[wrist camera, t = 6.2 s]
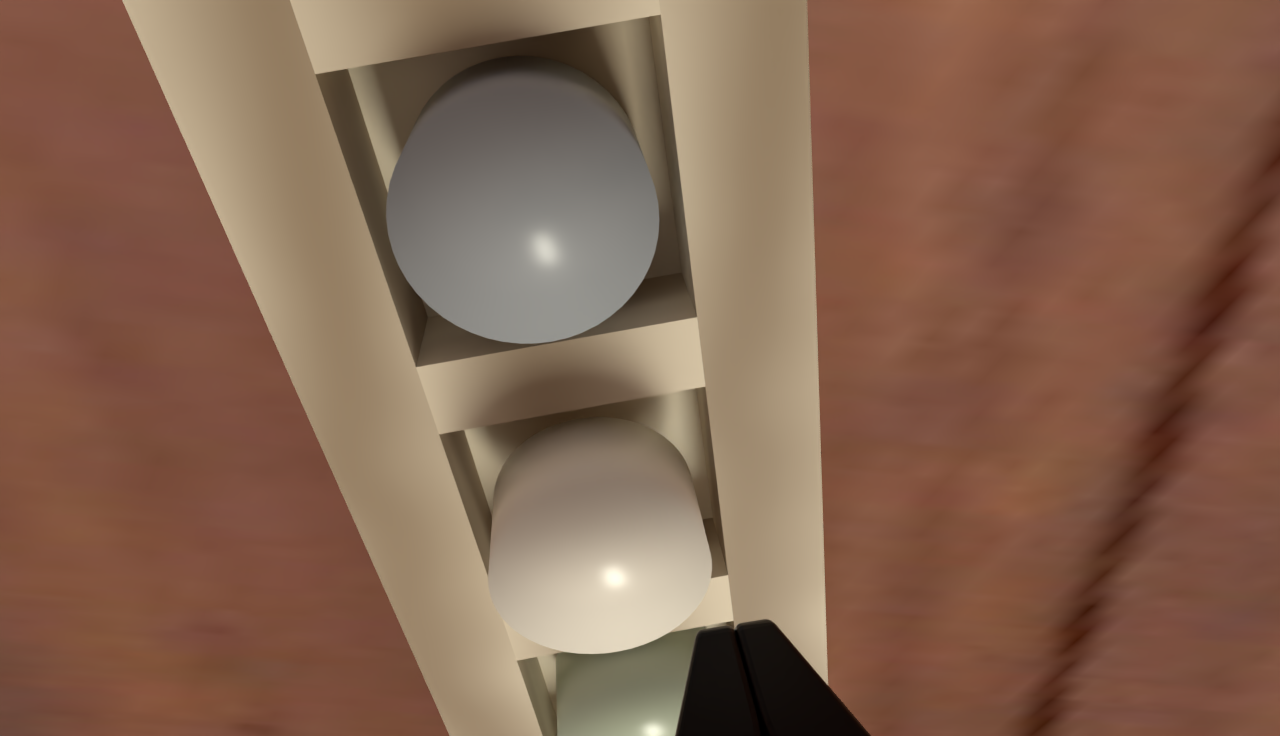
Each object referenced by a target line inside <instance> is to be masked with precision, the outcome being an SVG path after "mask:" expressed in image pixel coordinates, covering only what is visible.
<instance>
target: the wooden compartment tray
mask: <svg viewBox="0 0 1280 736" xmlns="http://www.w3.org/2000/svg"><path fill="white" fill-rule="evenodd" d="M122 1H123V3H124V5H125V7H126V10H127V12H128V14H129V16H130V19H131V21H132V23H133V25H134V27H135V30H136V32H137V34H138V36H139V39H140V41H141V43H142V45H143V48H144V50H145V52H146V54H147V57H148V59H149V61H150V63H151V66H152V68H153V70H154V72H155V75H156V77H157V79H158V81H159V84H160V86H161V88H162V90H163V93H164V95H165V97H166V99H167V102H168V104H169V106H170V108H171V111H172V113H173V115H174V117H175V120H176V122H177V124H178V126H179V129H180V131H181V133H182V135H183V138H184V140H185V142H186V144H187V147H188V149H189V151H190V153H191V156H192V158H193V160H194V162H195V165H196V167H197V169H198V171H199V173H200V176H201V178H202V180H203V182H204V185H205V187H206V189H207V191H208V194H209V196H210V198H211V200H212V203H213V205H214V207H215V209H216V212H217V214H218V216H219V218H220V221H221V223H222V225H223V227H224V230H225V232H226V234H227V236H228V239H229V241H230V243H231V245H232V248H233V250H234V252H235V254H236V257H237V259H238V261H239V263H240V266H241V268H242V270H243V272H244V275H245V277H246V279H247V281H248V284H249V286H250V288H251V290H252V293H253V295H254V297H255V299H256V302H257V304H258V306H259V308H260V311H261V313H262V315H263V317H264V320H265V322H266V324H267V326H268V328H269V331H270V333H271V335H272V337H273V340H274V342H275V344H276V346H277V349H278V351H279V353H280V355H281V358H282V360H283V362H284V364H285V367H286V369H287V371H288V373H289V376H290V378H291V380H292V382H293V385H294V387H295V389H296V391H297V394H298V396H299V398H300V400H301V403H302V405H303V407H304V409H305V412H306V414H307V416H308V418H309V421H310V423H311V425H312V427H313V430H314V432H315V434H316V436H317V439H318V441H319V443H320V445H321V448H322V450H323V452H324V454H325V457H326V459H327V461H328V463H329V466H330V468H331V470H332V472H333V475H334V477H335V479H336V481H337V483H338V486H339V488H340V490H341V492H342V495H343V497H344V499H345V501H346V504H347V506H348V508H349V510H350V513H351V515H352V517H353V519H354V522H355V524H356V526H357V528H358V531H359V533H360V535H361V537H362V540H363V542H364V544H365V546H366V549H367V551H368V553H369V555H370V558H371V560H372V562H373V564H374V567H375V569H376V571H377V573H378V576H379V578H380V580H381V582H382V585H383V587H384V589H385V591H386V594H387V596H388V598H389V600H390V603H391V605H392V607H393V609H394V612H395V614H396V616H397V618H398V621H399V623H400V625H401V627H402V629H403V632H404V634H405V636H406V638H407V641H408V643H409V645H410V647H411V650H412V652H413V654H414V656H415V659H416V661H417V663H418V665H419V668H420V670H421V672H422V674H423V677H424V679H425V681H426V683H427V686H428V688H429V690H430V692H431V695H432V697H433V699H434V701H435V704H436V706H437V708H438V710H439V713H440V715H441V717H442V719H443V722H444V724H445V726H446V728H447V731H448V733H449V735H450V736H557V697H556V656H557V653H561V652H564V651H559V650H555V649H551V648H548V647H545V646H542V645H539V644H537V643H535V642H533V641H531V640H529V639H527V638H525V637H524V636H522V635H520V634H519V633H518V632H516V631H515V630H514V629H513V628H511V627H510V626H509V625H508V624H507V623H506V622H505V621H504V620H503V618H502V617H501V616H500V614H499V613H498V611H497V610H496V608H495V606H494V604H493V602H492V599H491V596H490V592H489V585H488V572H489V557H490V543H491V528H492V513H493V499H494V489H495V484H496V481H497V477H498V475H499V473H500V471H501V468H502V466H503V465H504V463H505V462H506V460H507V459H508V458H509V456H510V455H511V454H512V453H513V452H514V451H515V450H516V449H517V447H519V446H520V445H521V444H522V443H523V442H525V441H526V440H527V439H529V438H530V437H532V436H533V435H535V434H536V433H538V432H540V431H542V430H544V429H546V428H548V427H550V426H553V425H556V424H559V423H562V422H565V421H570V420H574V419H580V418H588V417H610V418H619V419H624V420H629V421H633V422H636V423H639V424H642V425H644V426H646V427H648V428H651V429H653V430H655V431H656V432H658V433H659V434H661V435H662V436H664V437H665V438H666V439H668V440H669V441H670V442H671V443H672V444H673V445H674V446H675V447H676V448H677V449H678V450H679V452H680V453H681V454H682V456H683V458H684V459H685V461H686V463H687V465H688V468H689V470H690V473H691V477H692V481H693V485H694V489H695V493H696V497H697V501H698V505H699V509H700V513H701V517H702V521H703V525H704V529H705V533H706V537H707V541H708V545H709V549H710V554H711V558H712V573H711V580H710V583H709V586H708V590H707V592H706V594H705V596H704V598H703V600H702V601H701V603H700V604H699V605H698V607H697V608H696V610H695V611H694V612H693V613H692V614H691V615H690V616H689V617H688V618H687V619H686V620H685V621H684V622H683V623H681V624H680V625H679V626H678V627H676V628H675V629H673V630H672V631H670V632H675V631H681V630H686V629H691V628H697V627H702V626H704V627H705V629H707V628H713V627H719V626H725V625H728V626H731V627H732V628H733V629H734V630H735V627H736V626H737V625H738V624H739V623H743V622H750V621H756V620H762V619H769V620H771V621H773V622H774V623H775V624H776V625H777V626H778V627H779V629H780V630H781V631H782V632H783V633H784V634H785V636H786V637H787V638H788V639H789V640H790V641H791V643H792V644H793V645H794V646H795V647H796V648H797V650H798V651H799V652H800V653H801V654H802V656H803V657H804V658H805V659H806V660H807V661H808V663H809V664H810V665H811V666H812V667H813V668H814V670H815V671H816V672H817V673H818V674H819V675H820V677H821V678H822V679H823V680H824V681H825V683H826V684H827V685H828V671H827V638H826V605H825V573H824V540H823V507H822V475H821V442H820V409H819V377H818V344H817V311H816V278H815V246H814V213H813V180H812V148H811V115H810V82H809V50H808V17H807V0H122ZM508 56H535V57H541V58H547V59H551V60H554V61H558V62H561V63H564V64H567V65H569V66H571V67H573V68H575V69H577V70H580V71H581V72H583V73H585V74H586V75H588V76H589V77H591V78H592V79H594V80H595V81H596V82H598V83H599V84H600V85H601V86H602V87H604V88H605V89H606V90H607V91H608V92H609V93H610V94H611V95H612V96H613V98H614V99H615V100H616V101H617V102H618V103H619V105H620V106H621V108H622V109H623V110H624V112H625V113H626V115H627V116H628V118H629V120H630V122H631V124H632V126H633V128H634V130H635V133H636V136H637V139H638V141H639V144H640V147H641V150H642V153H643V155H644V158H645V161H646V164H647V166H648V169H649V172H650V175H651V178H652V180H653V183H654V186H655V190H656V195H657V200H658V207H659V233H658V240H657V245H656V250H655V253H654V256H653V259H652V262H651V265H650V267H649V269H648V271H647V273H646V275H645V277H644V279H643V281H642V282H641V284H640V285H639V287H638V288H637V290H636V291H635V293H634V294H633V295H632V296H631V297H630V298H629V300H628V301H627V302H626V303H625V304H624V305H623V306H622V307H621V308H620V309H619V310H617V311H616V312H615V313H614V314H613V315H612V316H610V317H609V318H607V319H606V320H604V321H603V322H601V323H600V324H598V325H597V326H595V327H593V328H591V329H589V330H587V331H585V332H583V333H580V334H577V335H574V336H572V337H569V338H565V339H561V340H557V341H553V342H544V343H532V344H519V343H510V342H502V341H497V340H493V339H488V338H485V337H482V336H479V335H476V334H473V333H471V332H469V331H467V330H464V329H462V328H460V327H458V326H456V325H455V324H453V323H451V322H450V321H448V320H447V319H445V318H443V317H442V316H441V315H439V314H438V313H437V312H436V311H434V310H433V309H432V308H431V307H430V306H428V305H427V304H426V302H425V301H424V300H423V299H422V298H421V297H420V296H419V295H418V294H417V293H416V292H415V290H414V289H413V288H412V286H411V285H410V284H409V282H408V281H407V279H406V278H405V276H404V274H403V272H402V271H401V269H400V267H399V265H398V263H397V260H396V258H395V256H394V253H393V251H392V247H391V243H390V239H389V235H388V228H387V220H386V206H387V195H388V189H389V184H390V180H391V177H392V174H393V171H394V168H395V165H396V163H397V161H398V159H399V157H400V155H401V153H402V150H403V148H404V146H405V144H406V142H407V140H408V137H409V135H410V133H411V131H412V129H413V127H414V125H415V123H416V121H417V119H418V117H419V115H420V113H421V111H422V109H423V108H424V106H425V105H426V103H427V102H428V101H429V99H430V98H431V96H432V95H433V94H434V93H435V92H436V91H437V90H438V89H439V88H440V87H441V86H442V85H443V84H444V83H446V82H447V81H448V80H449V79H451V78H452V77H453V76H455V75H456V74H458V73H460V72H461V71H463V70H465V69H467V68H468V67H471V66H473V65H476V64H478V63H481V62H483V61H487V60H491V59H495V58H499V57H508ZM670 632H669V633H670Z"/></svg>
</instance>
